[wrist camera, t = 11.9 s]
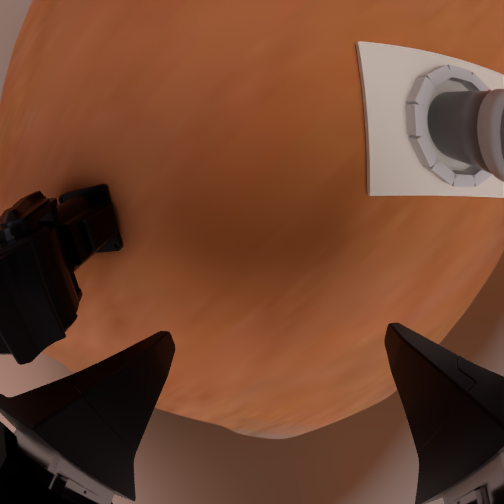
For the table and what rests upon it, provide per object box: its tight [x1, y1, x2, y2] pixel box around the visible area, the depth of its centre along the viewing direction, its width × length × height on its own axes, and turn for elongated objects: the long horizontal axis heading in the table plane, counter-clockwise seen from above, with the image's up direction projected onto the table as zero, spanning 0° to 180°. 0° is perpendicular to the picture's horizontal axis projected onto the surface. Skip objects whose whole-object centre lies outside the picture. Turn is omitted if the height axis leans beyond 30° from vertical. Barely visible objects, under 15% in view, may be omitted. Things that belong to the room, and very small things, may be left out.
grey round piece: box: [427, 89, 504, 182], centre depth 11 cm, size 6×6×11 cm
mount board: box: [355, 41, 504, 198], centre depth 15 cm, size 16×12×3 cm
